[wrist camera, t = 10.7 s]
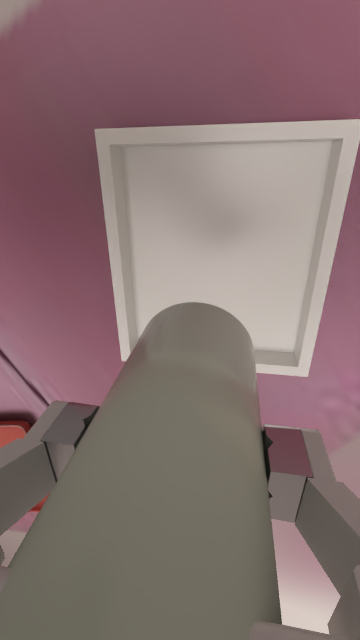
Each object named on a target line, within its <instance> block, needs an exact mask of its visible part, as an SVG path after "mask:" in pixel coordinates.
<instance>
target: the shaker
mask: <svg viewBox="0 0 360 640" xmlns="http://www.w3.org/2000/svg"><path fill="white" fill-rule="evenodd" d="M8 567H9V568H10V572H9V576H8V578H7V580H6V583H5V585H4V587H3V589H2V591H1V593H0V640H248V639H249V633H250V629H251V627H252V625H253V624H254V622H256V621H258V620H262V621H267V622H272V623H276V624H281V625H282V621H281V610H280V600H279V590H278V581H277V571H276V561H275V551H274V541H273V532H272V522H271V512H270V502H269V493H268V483H267V473H266V463H265V453H264V444H263V434H262V424H261V414H260V404H259V395H258V385H257V375H256V365H255V355H254V347H253V343H252V339H251V337H250V335H249V333H248V331H247V330H246V328H245V327H244V326H243V324H242V323H241V322H240V321H239V320H238V319H237V318H236V317H235V316H233V315H232V314H230V313H229V312H227V311H225V310H224V309H222V308H219V307H217V306H214V305H211V304H206V303H200V302H186V303H180V304H176V305H172V306H170V307H168V308H165V309H164V310H162V311H160V312H159V313H158V314H156V315H155V316H154V317H153V318H152V319H151V320H150V322H149V323H148V324H147V326H146V328H145V329H144V331H143V333H142V334H141V336H140V338H139V340H138V341H137V343H136V345H135V347H134V348H133V350H132V352H131V354H130V355H129V357H128V359H127V361H126V362H125V364H124V366H123V367H122V369H121V371H120V373H119V374H118V376H117V378H116V380H115V381H114V383H113V385H112V387H111V388H110V390H109V392H108V394H107V395H106V397H105V399H104V401H103V402H102V404H101V406H100V407H99V409H98V411H97V413H96V414H95V416H94V418H93V420H92V421H91V423H90V425H89V427H88V428H87V430H86V432H85V434H84V435H83V437H82V439H81V440H80V442H79V444H78V446H77V447H76V449H75V451H74V453H73V454H72V456H71V458H70V460H69V461H68V463H67V465H66V467H65V468H64V470H63V472H62V473H61V475H60V477H59V479H58V480H57V482H56V484H55V486H54V487H53V489H52V491H51V493H50V494H49V496H48V498H47V500H46V501H45V503H44V505H43V507H42V508H41V510H40V512H39V513H38V515H37V517H36V519H35V520H34V522H33V524H32V526H31V527H30V529H29V531H28V533H27V534H26V536H25V538H24V540H23V541H22V543H21V545H20V547H19V548H18V550H17V552H16V553H15V555H14V557H13V559H12V561H11V562H10V564H9V566H8Z"/></svg>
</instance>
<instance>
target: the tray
mask: <svg viewBox="0 0 360 640" xmlns="http://www.w3.org/2000/svg"><path fill="white" fill-rule="evenodd" d="M94 130H95V138H96V147H97V155H98V164H99V172H100V181H101V189H102V198H103V206H104V215H105V223H106V232H107V240H108V249H109V257H110V266H111V274H112V283H113V291H114V300H115V308H116V317H117V325H118V334H119V342H120V351H121V359H122V361H127V359H128V357H129V355H130V354H131V352H132V350H133V348H134V347H135V345H136V343H137V341H138V340H139V338H140V336H141V334H142V333H143V331H144V329H145V328H146V326H147V324H148V323H149V322H150V320H151V319H152V318H153V317H154V316H155V315H156V314H158V313H159V312H160V311H162V310H164V309H165V308H168V307H170V306H172V305H176V304H180V303H186V302H200V303H206V304H211V305H214V306H217V307H219V308H222V309H224V310H225V311H227V312H229V313H230V314H232V315H233V316H235V317H236V318H237V319H238V320H239V321H240V322H241V323H242V324H243V326H244V327H245V328H246V330H247V331H248V333H249V335H250V337H251V339H252V343H253V347H254V355H255V365H256V373H268V374H279V375H291V376H302V377H308V373H309V369H310V364H311V360H312V355H313V351H314V346H315V341H316V337H317V332H318V328H319V323H320V319H321V314H322V309H323V305H324V300H325V296H326V291H327V287H328V282H329V278H330V273H331V268H332V264H333V259H334V255H335V250H336V246H337V241H338V237H339V232H340V227H341V223H342V218H343V214H344V209H345V205H346V200H347V196H348V191H349V186H350V182H351V177H352V173H353V168H354V164H355V159H356V154H357V150H358V145H359V141H360V119H353V120H325V121H298V122H270V123H243V124H216V125H188V126H161V127H134V128H106V129H94Z"/></svg>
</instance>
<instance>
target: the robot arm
mask: <svg viewBox="0 0 360 640" xmlns="http://www.w3.org/2000/svg"><path fill="white" fill-rule="evenodd" d="M99 407H100V406H96V405H89V404H82V403H74V402H65V401H58V400H56V401H54V402H52V403H51V404H50V405H49V407H48V408H47V409H46V410H45V412H44V413H43V414H42V415H41V416H40V418H39V419H38V420H37V421H36V423H35V424H34V425H33V426H32V428H31V429H30V430H29V431H28V433H27V434H26V435H25V436H24V438H23V439H19V438H18V439H16V440H14V441H12V442H11V443H9V444H7V445H5V446H3V447H1V448H0V536H1V535H2V534H3V533H4V532H5V531H6V530H8V529H9V528H10V527H11V526H12V525H13V524H15V523H16V522H17V521H18V520H19V519H20V518H22V517H23V516H24V515H25V514H26V513H27V512H28V511H30V510H31V509H32V508H33V507H34V506H35V505H37V504H38V503H39V502H40V501H41V500H42V499H44V498H45V497H46V496H47V495H48V494H49V493H51V491H52V489H53V487H54V486H55V484H56V482H57V480H58V479H59V477H60V475H61V473H62V472H63V470H64V468H65V467H66V465H67V463H68V461H69V460H70V458H71V456H72V454H73V453H74V451H75V449H76V447H77V446H78V444H79V442H80V440H81V439H82V437H83V435H84V434H85V432H86V430H87V428H88V427H89V425H90V423H91V421H92V420H93V418H94V416H95V414H96V413H97V411H98V409H99ZM262 434H263V444H264V453H265V463H266V473H267V483H268V493H269V502H270V512H271V518H272V519H277V520H282V521H288V522H293V523H295V525H296V527H297V528H298V530H299V532H300V533H301V535H302V536H303V538H304V539H305V541H306V542H307V544H308V546H309V547H310V549H311V550H312V552H313V553H314V555H315V557H316V558H317V560H318V561H319V563H320V564H321V566H322V568H323V569H324V571H325V572H326V574H327V575H328V577H329V578H330V580H331V581H332V583H333V584H334V586H335V588H336V589H337V591H338V593H339V594H340V596H341V598H340V600H339V602H338V604H337V606H336V608H335V610H334V612H333V615H332V616H331V619H330V621H329V623H328V628H329V633H330V635H329V634H324V633H319V632H314V631H310V630H305V629H300V628H295V627H291V626H286V625H281V624H276V623H272V622H267V621H262V620H258V621H256V622H254V624H253V625H252V627H251V629H250V633H249V639H248V640H360V499H359V498H358V497H357V496H356V495H355V494H354V493H353V492H352V491H351V490H350V489H349V488H348V487H347V486H346V485H345V484H344V483H342V482H337V481H336V478H335V475H334V472H333V469H332V466H331V463H330V460H329V457H328V454H327V451H326V448H325V445H324V442H323V439H322V436H321V433H320V432H319V430H316V429H306V428H296V427H286V426H276V425H267V424H264V426H263V429H262ZM4 559H5V557H4V552H3V550H2V548H1V546H0V593H1V591H2V589H3V587H4V585H5V583H6V580H7V578H8V576H9V572H10V568H9V567H4V566H1V564H2V562H3V561H4Z"/></svg>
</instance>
